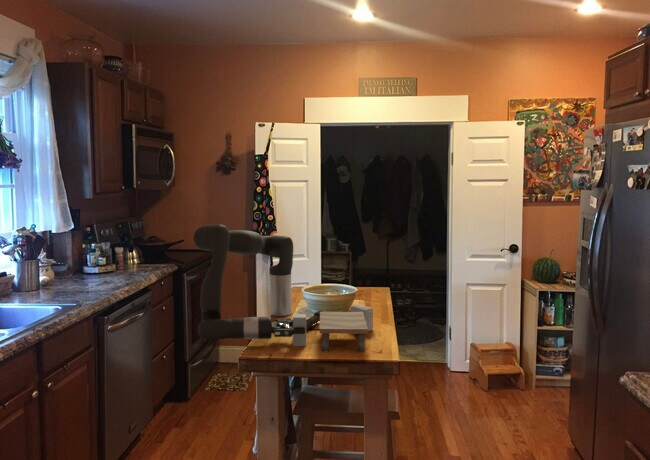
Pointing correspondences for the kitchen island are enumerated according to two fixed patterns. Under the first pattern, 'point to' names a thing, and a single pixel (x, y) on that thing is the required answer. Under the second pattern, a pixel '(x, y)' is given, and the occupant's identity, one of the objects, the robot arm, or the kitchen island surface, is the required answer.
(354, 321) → the peg shelf
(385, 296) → the kitchen island surface
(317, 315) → the hand tool
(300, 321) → the upright block
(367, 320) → the medicine box
